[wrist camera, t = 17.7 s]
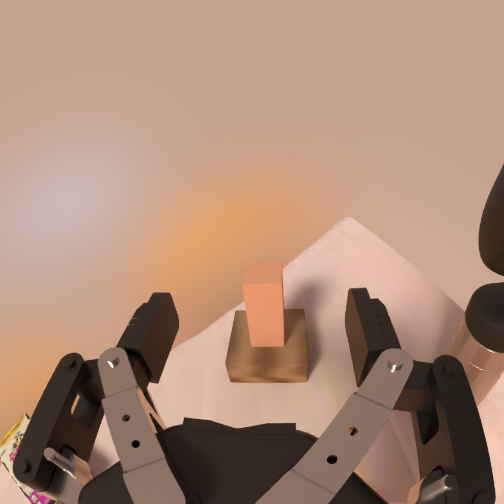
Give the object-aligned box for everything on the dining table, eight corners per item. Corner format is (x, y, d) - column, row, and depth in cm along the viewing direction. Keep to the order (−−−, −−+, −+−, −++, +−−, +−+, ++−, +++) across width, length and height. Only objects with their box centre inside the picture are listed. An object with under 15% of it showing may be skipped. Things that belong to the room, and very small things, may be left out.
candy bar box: (40, 516, 14) (-8, 448, 20) (62, 524, 17) (11, 462, 23) (77, 468, 23) (24, 410, 29) (97, 479, 25) (40, 425, 32)
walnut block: (303, 329, 51) (304, 309, 49) (306, 381, 41) (308, 363, 38) (239, 330, 52) (235, 310, 50) (230, 382, 42) (225, 363, 40)
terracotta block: (284, 323, 46) (281, 261, 40) (284, 346, 42) (281, 283, 36) (254, 324, 47) (246, 263, 41) (251, 346, 42) (242, 284, 36)
